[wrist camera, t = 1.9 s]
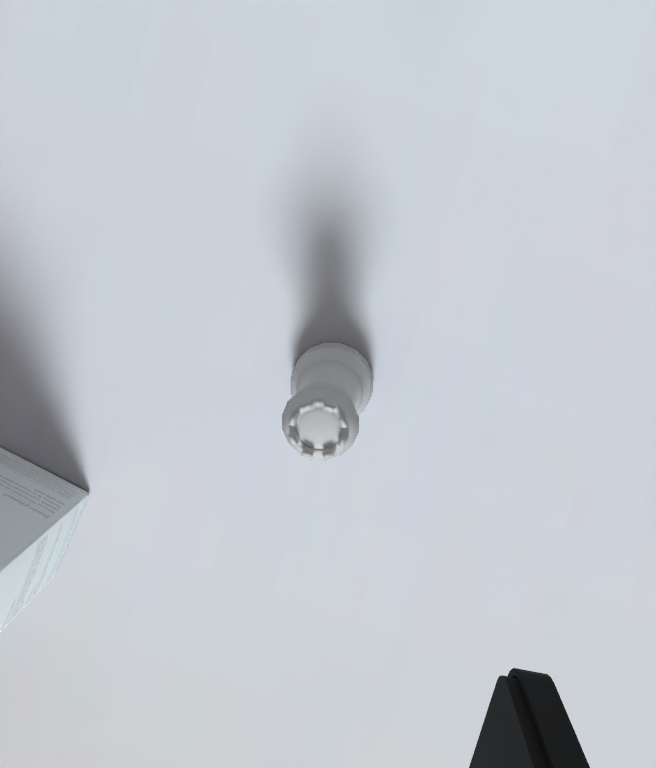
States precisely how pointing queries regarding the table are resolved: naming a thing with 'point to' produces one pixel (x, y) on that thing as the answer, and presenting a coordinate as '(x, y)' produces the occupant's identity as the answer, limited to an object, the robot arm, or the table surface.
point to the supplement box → (32, 529)
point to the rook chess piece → (327, 400)
